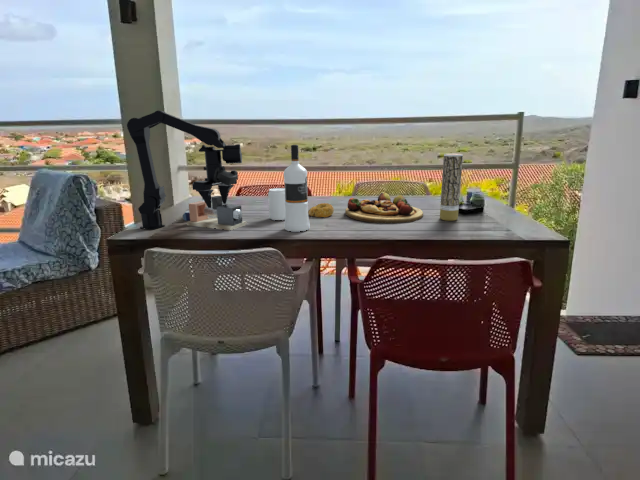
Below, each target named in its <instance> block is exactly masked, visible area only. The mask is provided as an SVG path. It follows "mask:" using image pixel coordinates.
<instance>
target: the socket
mask: <svg viewBox="0 0 640 480" xmlns="http://www.w3.org/2000/svg"><path fill="white" fill-rule="evenodd" d="M205 207H207V205H206V203H205V202H204V201H202V200H199V201H193V202H191V203H188V209H189V213H190V221H194V222H198V221H202V220H205V219H208V217H209V216H206V215H204V208H205Z"/></svg>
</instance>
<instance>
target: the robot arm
mask: <svg viewBox="0 0 640 480" xmlns="http://www.w3.org/2000/svg"><path fill="white" fill-rule="evenodd" d="M160 124H163V125H165V126H169V127H172V128H173V129H176V130H179V131H181V132H184V133H186V134H188V135H191V136H193V137H195V138H196V139H197V140H199V141H200V142H202V143H204V144H203V145H202V146H201V147H200V148H199V149H198V152H200V153H202V152H204V158H205V159H204V160H205V166H203V171H206V177H204V180H196V181H193V182H192V184H191V185H192V186H191V187H192V190H193V191H195V192H198V194H199V195H200V196H201V198H203V200H204V201H205V203H206V205H207V206H208V208H211V202H212V198H211V197H212V194H213V192H214V189H212V188H213V187H214V186H217V187H218V191H219V194H220V195H219V196H222V205H225V204H227V200H228V197H229V193H230V190H231V189H233V188H234V187H235V185H237V184H238V181H237V180H239V174H238V171H237V170H234V169H233V170H231V171H226V167H225V165H223V163H222V161H223V162H225V163H226V164H227V165H228V164H243V154H242V153H243V152H242V149H241V144H239V143H238V144H231V145H230V144H226V142H224V140H223V139H222V138H221V134H220V132H219V131H218V129H216V128H213V127H212V128H211V127H207V126H202V125H197V124H195V123H192V122H190V121H187V120H184V119H182V118H179V117H177V116H174V115H172V114H170V113H167V112H166V111H163V110H156V111H154V112H152V113H149V114H146V115H144V116H141V117H132V118H130V119H129V120H128V121H127V123H126V128H127V131H128V134H129V136H130V138H131V139H132V141H133V143H134V144H135V147H136V152H137V157H138V160H139V166H140V170H141V175H142V179H143V184H144V185H143V186H144V187H143V194H142V195H143V202H142V203H141V205H140V206H139V207H138V208H137V209H138V210H137V211H138V212H139V214H140V217H141V222H142V223H141V224H142V225H141V226H139V229H142V228H145V229H144V230H149V229H153V230H156V228H157V229H159V228H163V227H165V226H166V224H163V218H162V213H161V210H160V209H161V205H163V204H164V202H165V201H166V197H167V194H166V193H165V187H164V185H162V186H160V184H159V183H158V179H157V175H156V170H155V166H154V160H153V157H152V151H151V147H150V139H151V138H150V137H151V129H152V128H155V127H157V126H158V125H160ZM215 147H216V148H215Z"/></svg>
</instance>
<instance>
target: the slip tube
mask: <svg viewBox="0 0 640 480" xmlns="http://www.w3.org/2000/svg"><path fill="white" fill-rule="evenodd" d="M211 202H212V207H211V208H208V207H205V208H204V215H206V216H208V217H212V218H218V217H217V207H218V206H221V205H223V202H222V196H221V195H215V196H214V195H213V196H211ZM241 210H242V209H241ZM241 210H239V209H233V217H234V219H241V217H242V218H243V211H241Z"/></svg>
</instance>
